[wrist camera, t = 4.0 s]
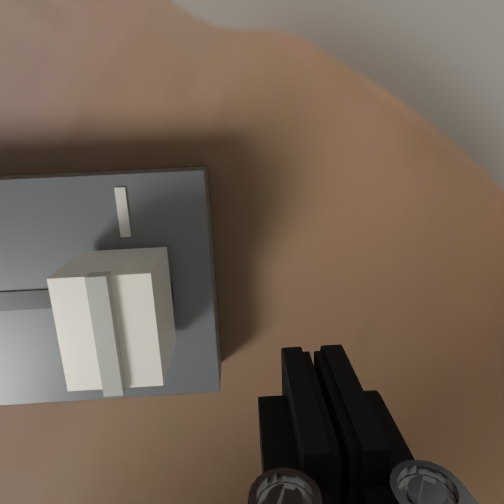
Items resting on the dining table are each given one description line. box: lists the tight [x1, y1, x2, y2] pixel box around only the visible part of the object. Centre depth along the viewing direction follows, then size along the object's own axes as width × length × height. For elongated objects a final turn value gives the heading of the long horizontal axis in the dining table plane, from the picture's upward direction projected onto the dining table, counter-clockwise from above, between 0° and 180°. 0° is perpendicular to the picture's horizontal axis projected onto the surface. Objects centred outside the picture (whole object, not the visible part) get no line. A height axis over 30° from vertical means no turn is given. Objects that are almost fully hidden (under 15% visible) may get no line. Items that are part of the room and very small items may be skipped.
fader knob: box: [47, 247, 176, 397], centre depth 18 cm, size 5×4×4 cm
